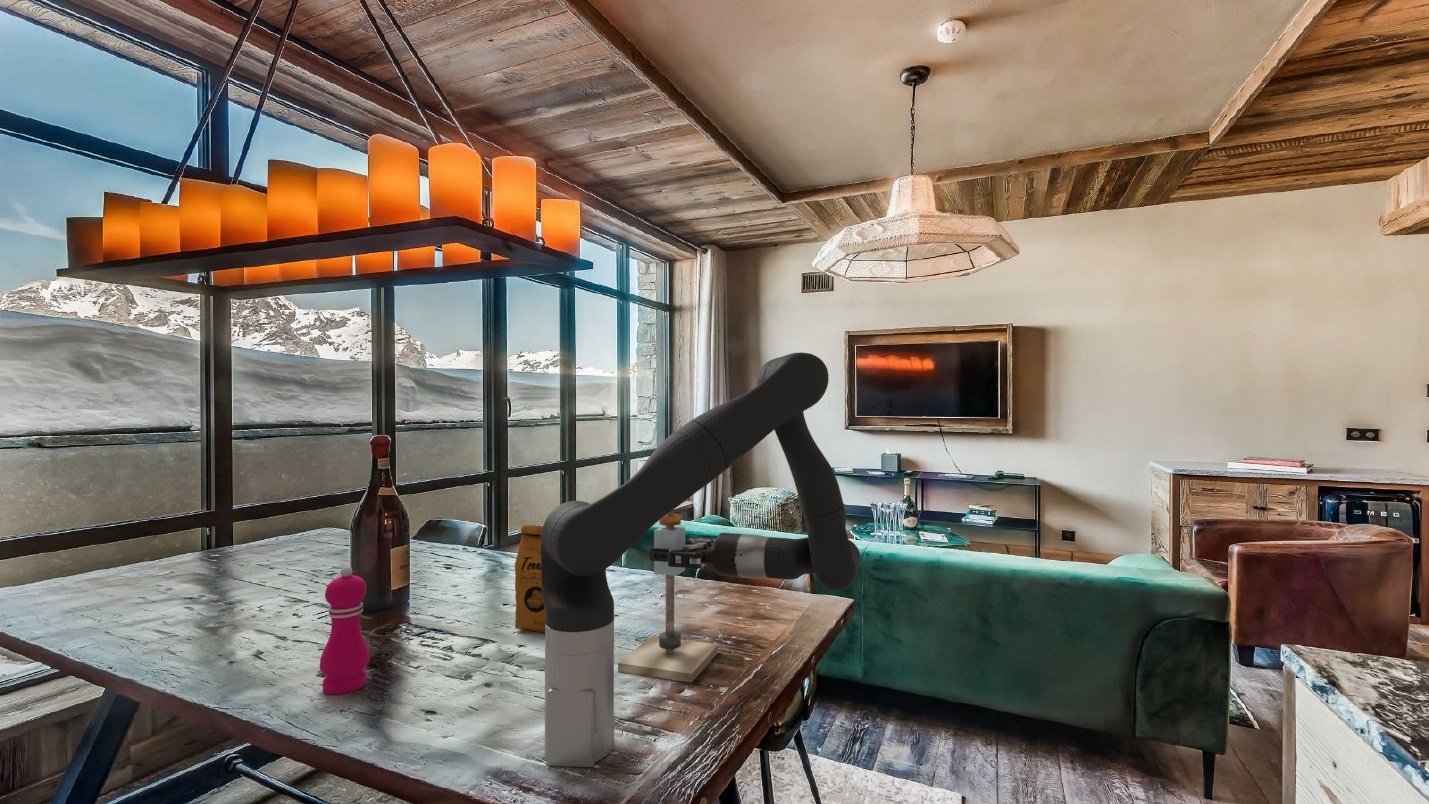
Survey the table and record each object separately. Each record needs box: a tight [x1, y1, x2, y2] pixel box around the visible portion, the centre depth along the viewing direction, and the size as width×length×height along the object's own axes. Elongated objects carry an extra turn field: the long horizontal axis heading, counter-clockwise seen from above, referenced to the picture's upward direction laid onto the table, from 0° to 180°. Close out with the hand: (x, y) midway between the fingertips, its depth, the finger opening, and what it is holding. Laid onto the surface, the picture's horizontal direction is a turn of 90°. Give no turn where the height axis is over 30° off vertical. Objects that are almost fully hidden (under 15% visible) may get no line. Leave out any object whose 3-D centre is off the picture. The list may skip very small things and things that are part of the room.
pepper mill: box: [319, 566, 371, 695], centre depth 102 cm, size 7×7×20 cm
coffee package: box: [514, 524, 546, 634], centre depth 130 cm, size 10×12×22 cm
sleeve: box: [653, 525, 686, 577], centre depth 112 cm, size 4×4×8 cm
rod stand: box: [617, 509, 719, 683], centre depth 112 cm, size 14×14×35 cm
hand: (660, 549), depth 113 cm, fingers open, 8 cm apart
